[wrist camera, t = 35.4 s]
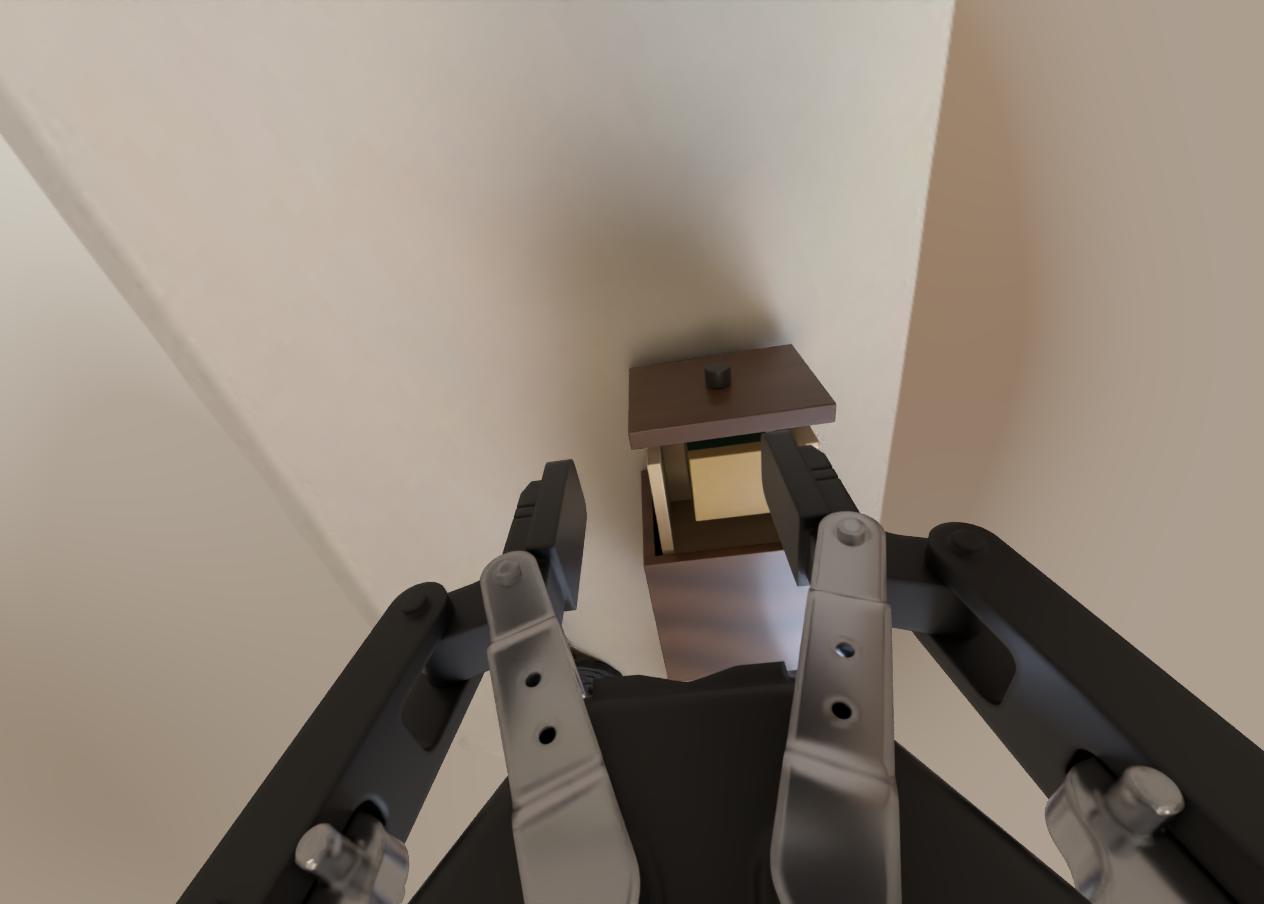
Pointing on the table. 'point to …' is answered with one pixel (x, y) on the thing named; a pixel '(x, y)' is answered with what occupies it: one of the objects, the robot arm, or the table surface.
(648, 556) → the cabinet
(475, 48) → the table surface
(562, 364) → the table surface
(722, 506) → the tea tin
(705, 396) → the drawer
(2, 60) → the table surface
